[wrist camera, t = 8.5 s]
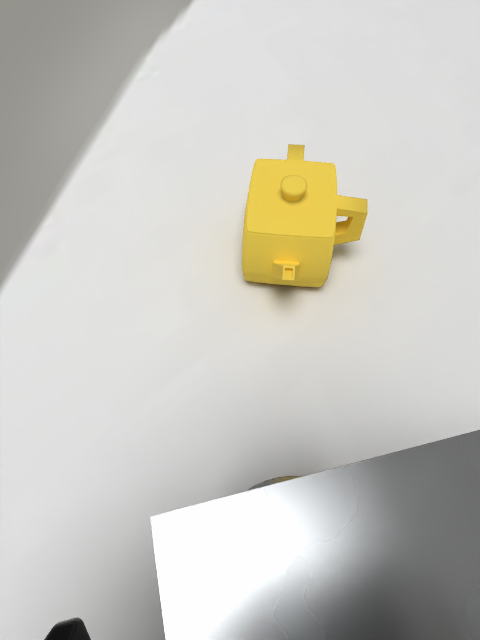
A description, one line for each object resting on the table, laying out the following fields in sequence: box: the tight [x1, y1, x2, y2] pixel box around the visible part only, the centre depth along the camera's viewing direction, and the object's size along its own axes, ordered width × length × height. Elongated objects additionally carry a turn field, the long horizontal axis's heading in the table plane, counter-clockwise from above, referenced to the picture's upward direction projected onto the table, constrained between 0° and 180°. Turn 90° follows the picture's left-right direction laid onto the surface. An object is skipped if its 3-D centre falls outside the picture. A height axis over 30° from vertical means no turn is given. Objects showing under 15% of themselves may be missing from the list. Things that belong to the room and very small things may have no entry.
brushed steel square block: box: [150, 430, 480, 640], centre depth 9 cm, size 5×5×10 cm
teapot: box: [242, 144, 367, 287], centre depth 20 cm, size 8×6×5 cm
